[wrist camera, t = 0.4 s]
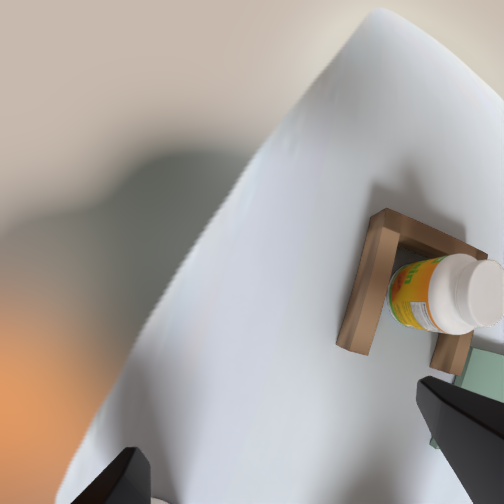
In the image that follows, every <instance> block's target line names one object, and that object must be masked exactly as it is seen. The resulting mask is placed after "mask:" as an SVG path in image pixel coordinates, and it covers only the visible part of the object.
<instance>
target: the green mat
mask: <svg viewBox="0 0 504 504" xmlns="http://www.w3.org/2000/svg"><path fill="white" fill-rule="evenodd" d="M454 385H456V386H459V387H461V388H464V389H467V390H470V391H472V392H475V393H478V394H481V395H483V396H486V397H489V398H492V399H495V400H498V401H500V402H503V403H504V355H500V354H496V353H492V352H488V351H484V350H480V349H477V348H473V347H469V351H468V354H467V358H466V361H465V364H464V367H463V371H462V374H461V376H459V375H457V376H456V379H455V382H454ZM430 445H431V446H432V447H434V448H435V449H440V448H439V446H438V445H437V443H436V442H435V440H434V438H432V440H431V442H430Z"/></svg>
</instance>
